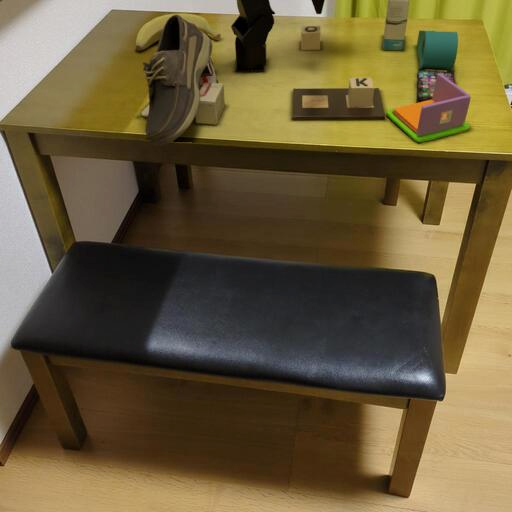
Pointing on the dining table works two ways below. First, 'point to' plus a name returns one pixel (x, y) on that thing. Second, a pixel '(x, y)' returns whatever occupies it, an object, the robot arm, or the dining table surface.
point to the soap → (145, 111)
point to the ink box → (395, 24)
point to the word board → (333, 105)
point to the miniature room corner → (434, 113)
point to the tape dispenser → (437, 49)
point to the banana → (155, 27)
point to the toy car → (208, 74)
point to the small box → (210, 103)
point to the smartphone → (430, 81)
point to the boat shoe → (175, 79)
